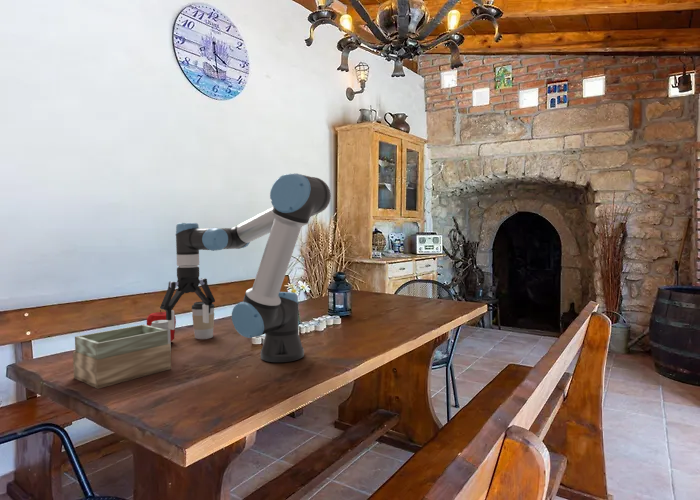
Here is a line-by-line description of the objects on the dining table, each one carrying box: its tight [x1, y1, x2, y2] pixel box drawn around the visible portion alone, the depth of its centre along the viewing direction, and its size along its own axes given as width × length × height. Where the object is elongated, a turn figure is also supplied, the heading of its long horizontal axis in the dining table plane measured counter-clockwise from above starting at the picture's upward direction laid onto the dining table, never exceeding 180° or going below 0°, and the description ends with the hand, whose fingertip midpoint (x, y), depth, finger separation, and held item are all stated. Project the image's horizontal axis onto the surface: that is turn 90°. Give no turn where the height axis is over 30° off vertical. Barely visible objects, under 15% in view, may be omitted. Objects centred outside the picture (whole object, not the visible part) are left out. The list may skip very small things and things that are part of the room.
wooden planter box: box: [72, 324, 172, 390], centre depth 138 cm, size 16×22×12 cm
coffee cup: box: [191, 300, 215, 340], centre depth 183 cm, size 9×9×15 cm
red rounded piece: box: [146, 309, 177, 342], centre depth 173 cm, size 10×10×14 cm
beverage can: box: [151, 320, 172, 352], centre depth 159 cm, size 6×6×12 cm
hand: (189, 325), depth 159 cm, fingers open, 13 cm apart
